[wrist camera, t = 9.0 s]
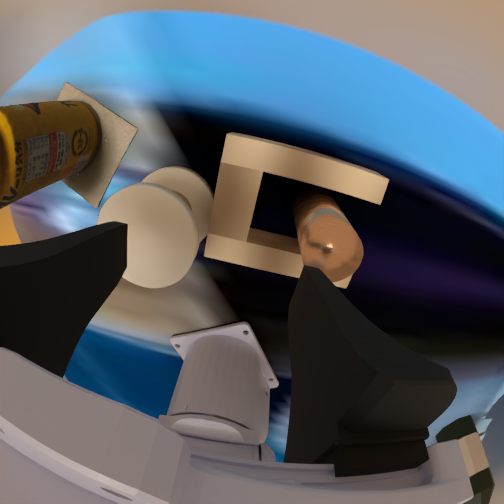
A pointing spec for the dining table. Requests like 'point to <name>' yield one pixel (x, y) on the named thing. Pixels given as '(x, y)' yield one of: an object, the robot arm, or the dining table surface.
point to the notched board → (246, 190)
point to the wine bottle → (471, 457)
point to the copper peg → (326, 235)
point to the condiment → (60, 146)
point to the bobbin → (161, 224)
